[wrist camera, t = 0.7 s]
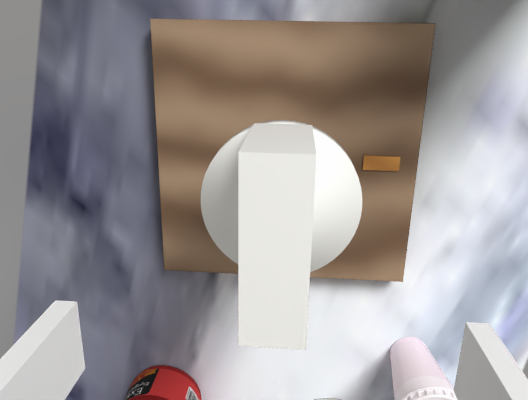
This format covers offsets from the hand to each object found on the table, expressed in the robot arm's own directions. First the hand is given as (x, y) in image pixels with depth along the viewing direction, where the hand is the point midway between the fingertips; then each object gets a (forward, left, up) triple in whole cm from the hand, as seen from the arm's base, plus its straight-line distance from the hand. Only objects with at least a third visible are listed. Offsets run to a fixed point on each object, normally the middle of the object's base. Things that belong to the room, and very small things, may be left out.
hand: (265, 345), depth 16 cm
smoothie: (+20, +13, -28) cm, 36 cm away
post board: (0, 0, -28) cm, 28 cm away
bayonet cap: (0, 0, -16) cm, 16 cm away
